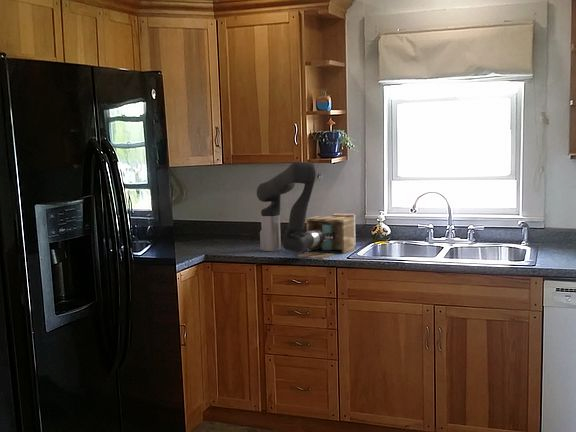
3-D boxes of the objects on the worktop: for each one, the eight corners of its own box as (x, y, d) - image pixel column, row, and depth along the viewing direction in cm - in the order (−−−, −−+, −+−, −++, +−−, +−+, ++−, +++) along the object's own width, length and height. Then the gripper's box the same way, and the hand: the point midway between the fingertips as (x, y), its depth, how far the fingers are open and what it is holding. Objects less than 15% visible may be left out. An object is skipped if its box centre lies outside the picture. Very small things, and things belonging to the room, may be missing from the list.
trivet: (295, 256, 328) (295, 255, 328) (308, 252, 339) (308, 251, 338) (322, 258, 321) (322, 257, 321) (334, 254, 331) (334, 253, 331)
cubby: (307, 251, 343) (306, 218, 342) (318, 247, 353) (317, 215, 351) (344, 253, 333) (343, 220, 331) (354, 250, 343) (353, 217, 341)
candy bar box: (332, 247, 354) (331, 214, 353) (334, 245, 359) (333, 213, 357) (354, 247, 351) (353, 214, 350) (356, 245, 356) (355, 213, 354)
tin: (320, 249, 339) (320, 224, 338) (325, 248, 343) (324, 223, 342) (329, 250, 337) (329, 225, 336) (334, 248, 341) (333, 224, 340)
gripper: (325, 231, 323) (342, 227, 337) (298, 229, 330) (316, 225, 344) (326, 247, 323) (342, 242, 338) (298, 245, 331) (316, 241, 345)
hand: (329, 234), depth 341 cm, fingers closed on tin, 4 cm apart
